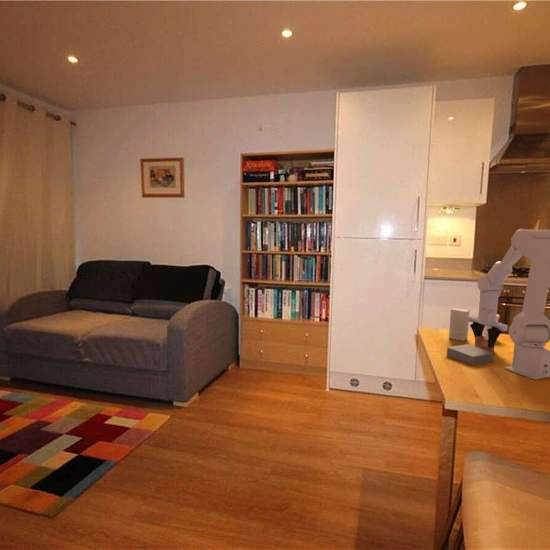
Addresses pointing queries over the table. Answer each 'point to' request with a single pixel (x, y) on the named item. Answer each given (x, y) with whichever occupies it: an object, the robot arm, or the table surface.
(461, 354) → the base block
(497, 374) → the table surface
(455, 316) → the skincare box
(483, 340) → the cube
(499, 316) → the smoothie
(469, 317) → the robot arm
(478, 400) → the table surface
